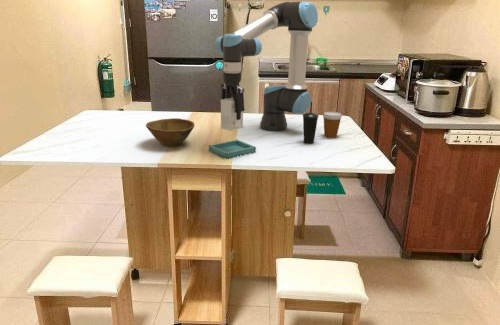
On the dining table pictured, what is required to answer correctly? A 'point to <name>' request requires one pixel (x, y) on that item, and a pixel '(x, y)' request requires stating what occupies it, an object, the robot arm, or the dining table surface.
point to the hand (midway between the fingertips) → (232, 124)
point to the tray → (232, 149)
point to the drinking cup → (309, 126)
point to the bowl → (170, 130)
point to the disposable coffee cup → (331, 124)
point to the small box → (229, 115)
